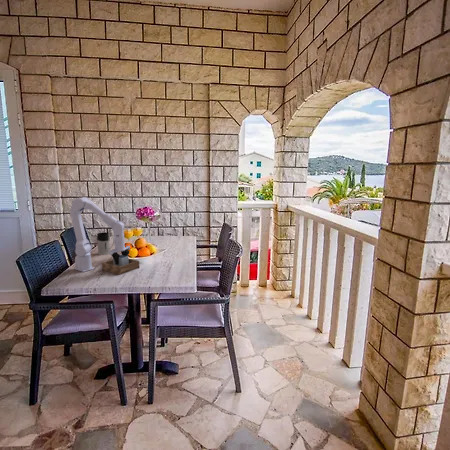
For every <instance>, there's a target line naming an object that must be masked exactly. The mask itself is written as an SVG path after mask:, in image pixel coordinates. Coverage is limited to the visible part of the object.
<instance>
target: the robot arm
mask: <svg viewBox="0 0 450 450" xmlns="http://www.w3.org/2000/svg"><path fill="white" fill-rule="evenodd" d="M84 210H90V211H92V212H94V214H96V215H98V216H99V217H100V218H101V219H102V222H104V224H106V226H107V225H108V226H109V227H110V228H111V230H112V232H113V237H114V249H112V250H111V249H110V251H109V254H108V255H110V256H111V257H112V260H113V259H114V261H115V264H116V265H119V255H124V256H128V254H129V251H128V250H130V246H131V245H125V232H124V229H125V227H126V226H125V223H124V222H123V221H122V220H121V221H120V219H117V218H115V217H114V215H113V214H112V213H106V212H105V211H104V210H103V209H101V208H100V207H99V206H98V205H97V204H95V203H94V202H93V200H91V199H89V197H86V196H83V197H80V198H79V197H78V198H75V199H74V200H73V201H72V202H71V207H70V211H69V214H70V219H71V222H72V227H73V231H74V235H75V239H76V243H75V244H74V245H75V251H74V252H75V257H74V264H75V265H74V266H75V268H74V270H75V271H78V272H83V273H84V272H87V271H88V272H89V271H91V270H94V269H96V267H94V266H92V265H93V264H92V253H91V252H92V250H93V246H92V244H90V241H89V239H87V235H86V231H85V227H84V222H83V218H82V215H81V214H82V212H83V211H84ZM125 246H126V247H125Z"/></svg>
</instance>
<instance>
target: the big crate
mask: <svg viewBox="0 0 450 450" xmlns="http://www.w3.org/2000/svg"><path fill="white" fill-rule="evenodd" d="M138 269H140V260H137V259H134V258H133V259H129V264H126V265H123V266H120V267H119V266H115V265H113V259H111V260H107V261H104V262H101V270H102V271H105V272H107V273H108V272H109V273H111V274H116V275H123V274H126V273H129V272H133V271H134V270H138Z"/></svg>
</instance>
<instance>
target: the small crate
mask: <svg viewBox="0 0 450 450" xmlns="http://www.w3.org/2000/svg"><path fill="white" fill-rule="evenodd" d="M112 260H113V265H115V266H119V267H120V266H123V265H126V264H129V259H128V256H124V255H122V254H120V255H119V265H116V264H115V261H114V259H113V258H112Z"/></svg>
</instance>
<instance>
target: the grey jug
mask: <svg viewBox="0 0 450 450" xmlns="http://www.w3.org/2000/svg"><path fill="white" fill-rule="evenodd" d="M96 235H97V237H96V239H97V255H99V256H107V255H110V254H109V251H111V248H113V247H114V246H115V243H114V235H109V232H105V231H104V232H97V234H96ZM111 238H112V240H113V242H112V245H111V246H110V242H111V241H110V239H111ZM106 254H107V255H106Z"/></svg>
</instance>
